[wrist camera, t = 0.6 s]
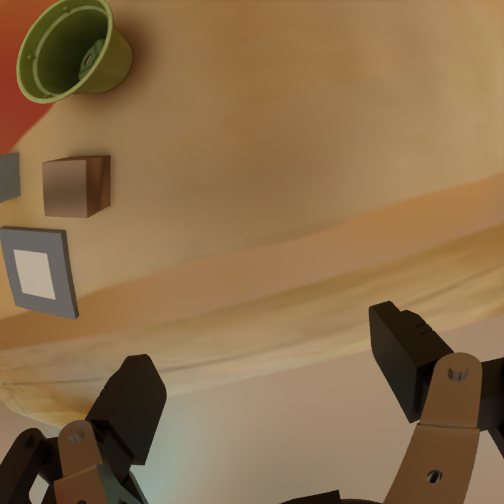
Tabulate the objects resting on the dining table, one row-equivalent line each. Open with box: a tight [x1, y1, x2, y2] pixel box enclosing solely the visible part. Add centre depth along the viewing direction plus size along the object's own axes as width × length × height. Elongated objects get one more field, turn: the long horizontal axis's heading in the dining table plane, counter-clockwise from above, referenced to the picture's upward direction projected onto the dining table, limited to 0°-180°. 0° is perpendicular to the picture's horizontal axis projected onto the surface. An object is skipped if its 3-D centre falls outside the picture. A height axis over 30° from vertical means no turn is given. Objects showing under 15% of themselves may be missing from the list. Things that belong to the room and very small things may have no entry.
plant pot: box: [17, 0, 133, 103], centre depth 18 cm, size 9×9×9 cm
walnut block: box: [42, 156, 110, 218], centre depth 24 cm, size 5×5×5 cm
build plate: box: [0, 226, 79, 320], centre depth 29 cm, size 11×11×1 cm
